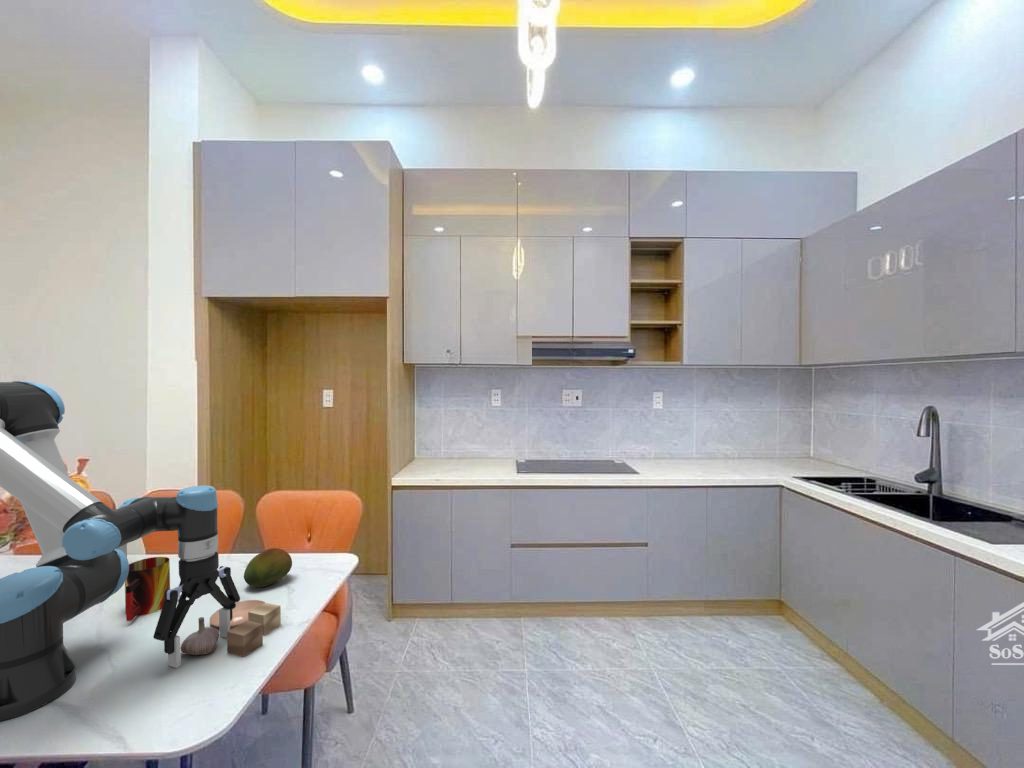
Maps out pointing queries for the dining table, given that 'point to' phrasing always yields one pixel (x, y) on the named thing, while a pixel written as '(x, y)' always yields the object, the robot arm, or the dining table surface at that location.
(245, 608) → the peach ellipsoid
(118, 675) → the dining table surface
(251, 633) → the walnut block
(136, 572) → the mug
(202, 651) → the garlic bulb
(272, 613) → the oak block
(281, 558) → the fruit
